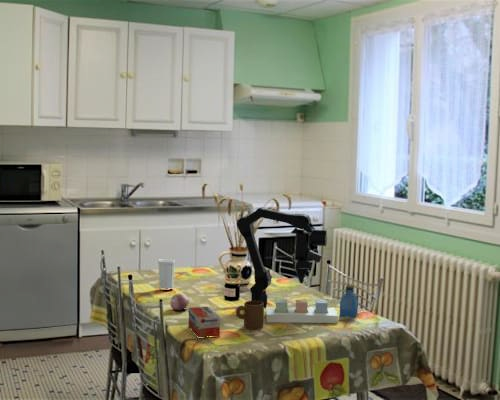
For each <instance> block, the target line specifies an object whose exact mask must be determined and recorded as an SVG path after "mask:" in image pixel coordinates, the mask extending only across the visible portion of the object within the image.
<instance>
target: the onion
mask: <svg viewBox="0 0 500 400" xmlns="http://www.w3.org/2000/svg"><path fill="white" fill-rule="evenodd" d="M169 304H170V307H171V309H172V308H173V309H175V310H180V311H184V310H183V309H184V308H187V307H188V305H189V304H190V301H189V298H188V297H187V296H186V295H185V294H182V293H176V294H174V295H173V296H172V297H171V298H170V303H169ZM173 309H172V310H173ZM175 310H174V311H175Z"/></svg>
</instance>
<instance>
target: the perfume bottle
mask: <svg viewBox="0 0 500 400" xmlns="http://www.w3.org/2000/svg"><path fill="white" fill-rule="evenodd" d="M354 291H355V289H354V286H353V285H346V286H345V289H344V292H345V293H344V294H343V295H342V297H341V298H340V301H339V317H341V318H351V317H352V318H353V319H355V318H356V317H357V316H358V313H359V312H358V310H359V309H358V306H359V299H358V297H357V295H356V294H355V293H354Z"/></svg>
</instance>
